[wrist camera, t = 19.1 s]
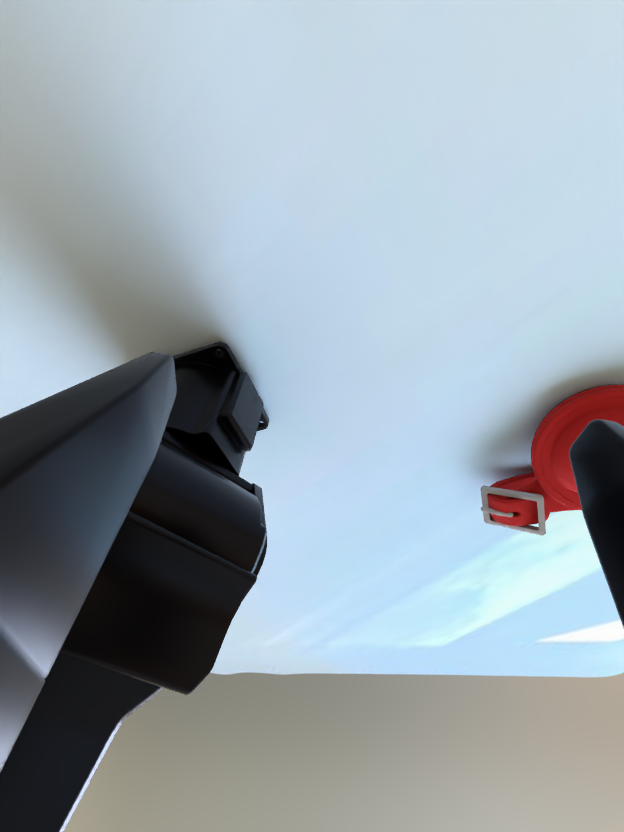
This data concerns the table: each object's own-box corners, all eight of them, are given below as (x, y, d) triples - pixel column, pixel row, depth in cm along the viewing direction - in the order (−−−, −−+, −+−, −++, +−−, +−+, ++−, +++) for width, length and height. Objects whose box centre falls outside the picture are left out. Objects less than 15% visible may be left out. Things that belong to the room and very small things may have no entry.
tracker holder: (592, 366, 21) (774, 447, 20) (561, 348, 25) (712, 416, 24) (469, 530, 26) (612, 598, 25) (460, 494, 30) (583, 551, 29)
